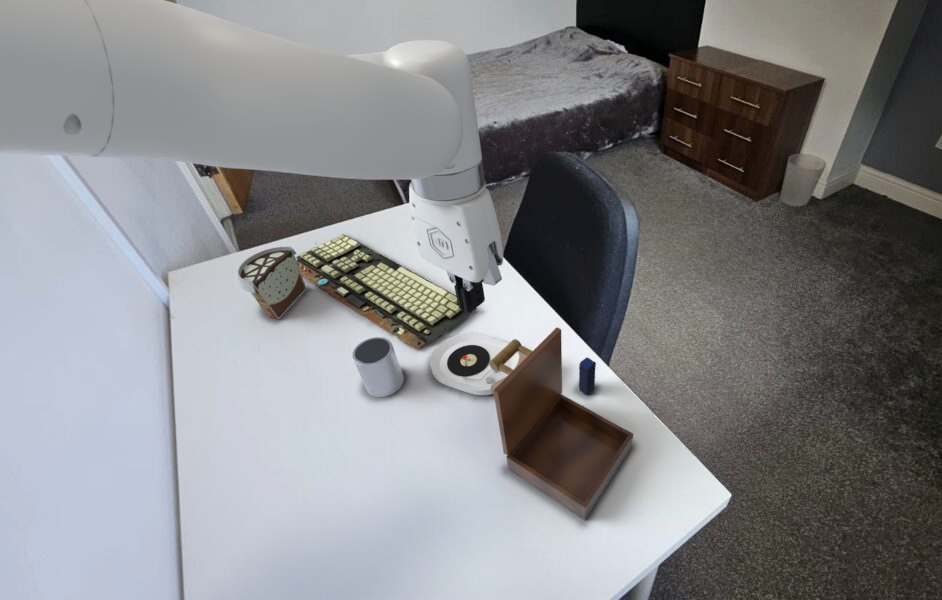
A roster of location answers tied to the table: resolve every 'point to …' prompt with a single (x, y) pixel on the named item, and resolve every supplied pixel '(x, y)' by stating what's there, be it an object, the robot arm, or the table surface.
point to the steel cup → (378, 366)
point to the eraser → (587, 376)
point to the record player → (470, 363)
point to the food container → (273, 279)
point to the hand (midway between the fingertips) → (472, 304)
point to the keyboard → (382, 290)
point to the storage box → (571, 455)
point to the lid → (527, 387)
